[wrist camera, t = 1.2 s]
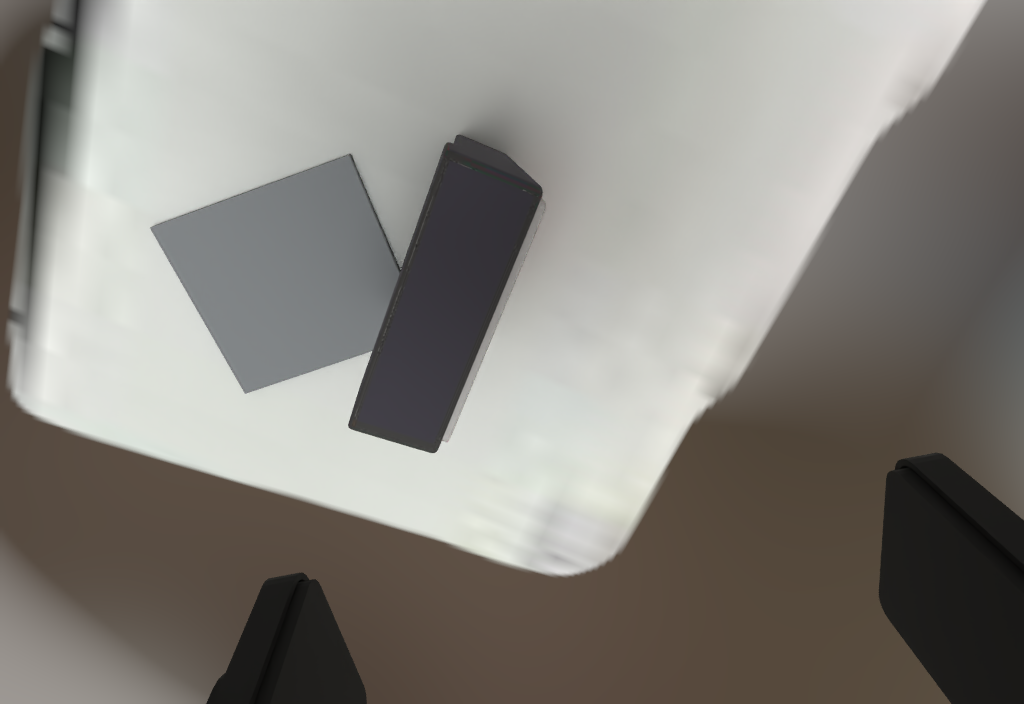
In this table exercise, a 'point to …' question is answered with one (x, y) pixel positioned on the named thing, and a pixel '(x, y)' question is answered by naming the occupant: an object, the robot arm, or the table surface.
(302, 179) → the mat
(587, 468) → the table surface
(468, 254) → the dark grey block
